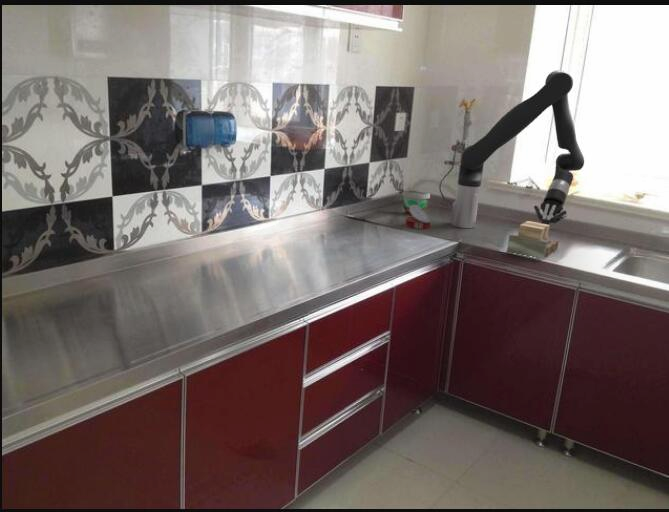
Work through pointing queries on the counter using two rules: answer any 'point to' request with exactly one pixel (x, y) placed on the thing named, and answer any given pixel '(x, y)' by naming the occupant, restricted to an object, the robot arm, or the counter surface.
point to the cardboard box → (534, 230)
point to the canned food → (418, 218)
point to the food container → (414, 200)
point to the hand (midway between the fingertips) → (543, 229)
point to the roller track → (531, 246)
